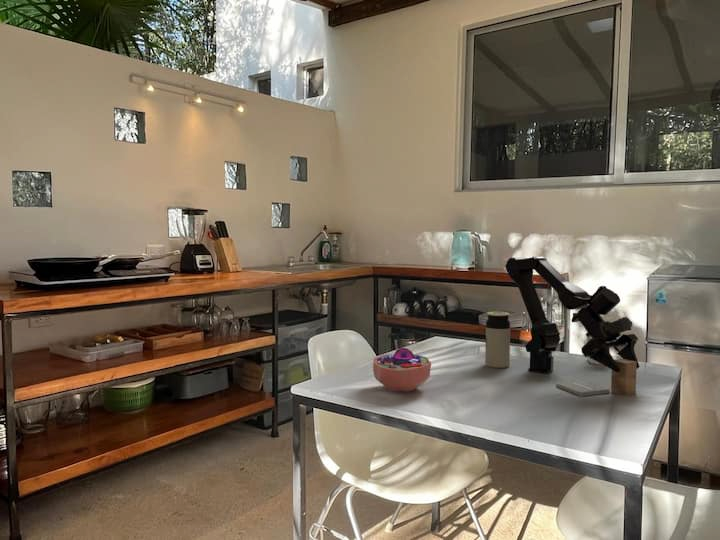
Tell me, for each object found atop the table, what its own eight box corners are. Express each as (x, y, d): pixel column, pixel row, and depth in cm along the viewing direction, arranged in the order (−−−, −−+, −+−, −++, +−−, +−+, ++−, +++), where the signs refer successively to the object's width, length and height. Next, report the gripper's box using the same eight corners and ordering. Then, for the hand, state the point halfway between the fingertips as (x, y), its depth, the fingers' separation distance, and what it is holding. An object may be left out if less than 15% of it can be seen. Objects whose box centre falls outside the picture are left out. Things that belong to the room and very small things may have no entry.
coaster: (556, 386, 160) (556, 383, 160) (584, 383, 163) (584, 380, 163) (580, 396, 150) (580, 392, 150) (609, 392, 154) (609, 389, 154)
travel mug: (512, 364, 188) (513, 312, 186) (505, 369, 181) (506, 315, 180) (489, 362, 192) (490, 310, 191) (481, 366, 185) (482, 313, 184)
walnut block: (611, 391, 155) (611, 360, 155) (621, 389, 157) (621, 358, 157) (625, 395, 151) (626, 363, 151) (635, 393, 153) (636, 361, 153)
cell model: (362, 395, 151) (362, 354, 150) (384, 378, 169) (384, 342, 169) (422, 402, 145) (422, 359, 144) (438, 383, 164) (438, 345, 163)
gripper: (591, 310, 152) (627, 356, 143) (633, 305, 161) (669, 349, 152) (567, 334, 159) (599, 380, 150) (608, 328, 168) (641, 371, 159)
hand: (628, 369), depth 153 cm, fingers open, 8 cm apart
